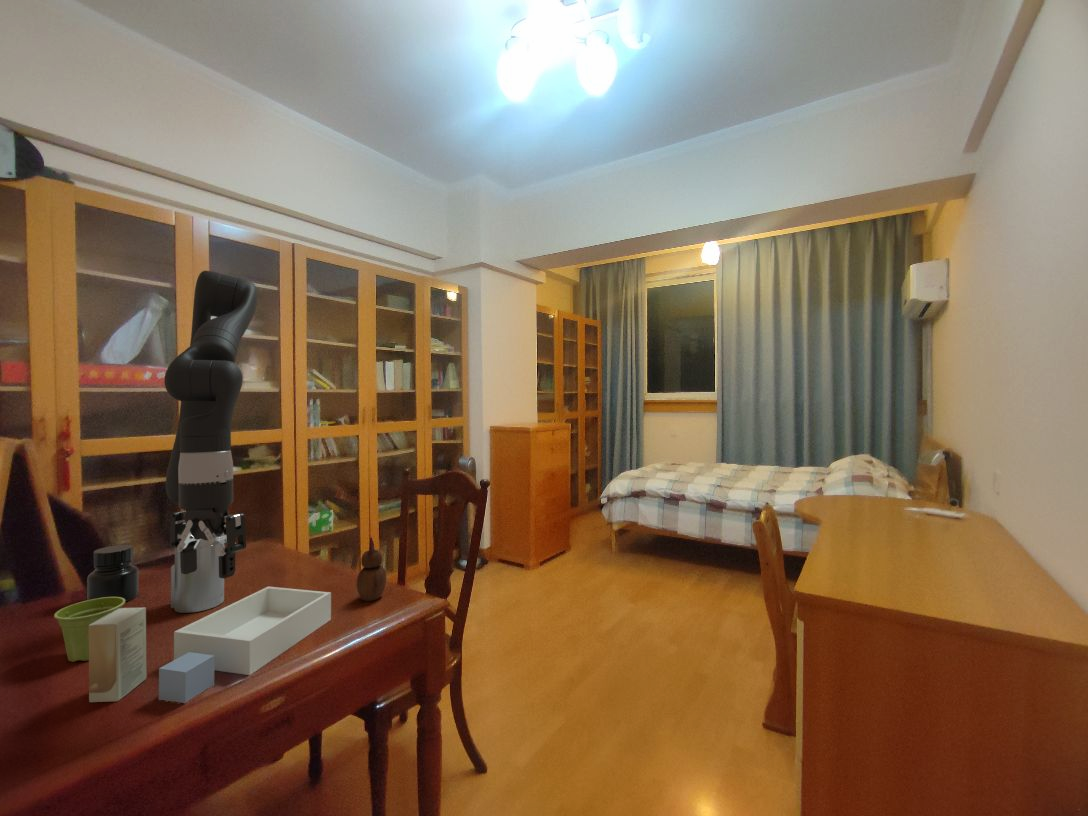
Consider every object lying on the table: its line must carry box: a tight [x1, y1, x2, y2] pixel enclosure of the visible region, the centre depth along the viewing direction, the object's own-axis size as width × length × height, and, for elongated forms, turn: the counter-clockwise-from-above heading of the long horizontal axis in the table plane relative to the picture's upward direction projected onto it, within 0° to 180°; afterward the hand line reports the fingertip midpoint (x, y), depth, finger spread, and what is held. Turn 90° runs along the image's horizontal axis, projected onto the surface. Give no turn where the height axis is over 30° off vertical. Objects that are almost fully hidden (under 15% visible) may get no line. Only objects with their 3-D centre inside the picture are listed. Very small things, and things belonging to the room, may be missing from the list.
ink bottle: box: [86, 544, 139, 603], centre depth 111 cm, size 10×9×12 cm
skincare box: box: [88, 607, 147, 703], centre depth 76 cm, size 6×4×12 cm
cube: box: [158, 652, 215, 703], centre depth 76 cm, size 5×5×5 cm
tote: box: [173, 586, 332, 676], centre depth 93 cm, size 16×22×6 cm
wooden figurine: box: [356, 537, 387, 602], centre depth 113 cm, size 7×6×15 cm
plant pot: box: [53, 597, 126, 663], centre depth 87 cm, size 9×9×9 cm
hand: (207, 574), depth 80 cm, fingers open, 8 cm apart
